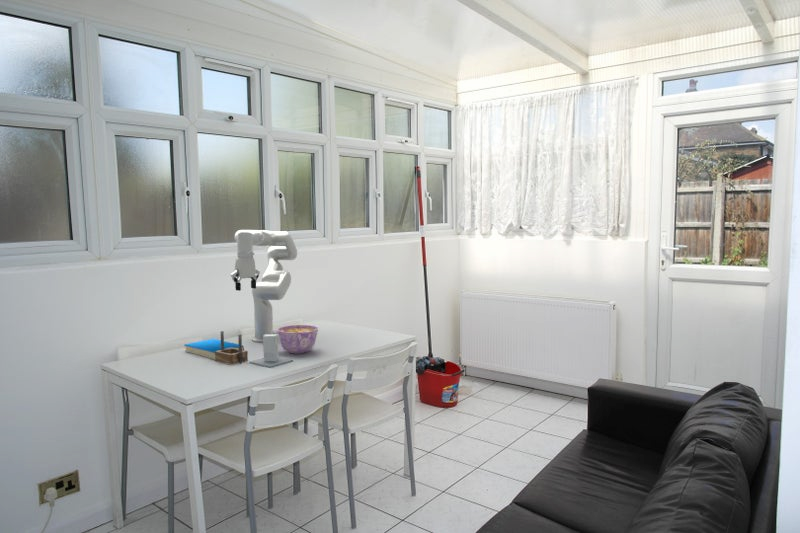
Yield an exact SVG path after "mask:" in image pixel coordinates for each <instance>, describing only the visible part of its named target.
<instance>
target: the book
mask: <svg viewBox="0 0 800 533" xmlns="http://www.w3.org/2000/svg"><path fill="white" fill-rule="evenodd" d="M184 346H185V352H187V353H192V354H194V355H199V356H203V357H205V358H210V359H213V360H215V351H219V350H221V339H216V338H211V339H206V340H200V341H195V342H190V343H186V344H184ZM227 348H236V349H239V343H234V342H229V341H225V340H224V349H227ZM242 350H245V347H244V345H242Z"/></svg>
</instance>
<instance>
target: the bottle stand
mask: <svg viewBox="0 0 800 533" xmlns="http://www.w3.org/2000/svg"><path fill="white" fill-rule="evenodd" d="M224 333H225V332H224V331H223V330H222V331H220V340H221V350H219V351H215V359H214V361H215V362H219V363H222V364H227V365H235V364H243V362H247V361H249V359H248V358H249V357H248V356H249V355H248V354H249V351H248V350H247V349H246V350H245V349H244V350H242V344H243V342H242V340H243V338H242V337H243V336H242V334H238V344H239V349H236V348H227V349H224V341H225V334H224Z"/></svg>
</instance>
